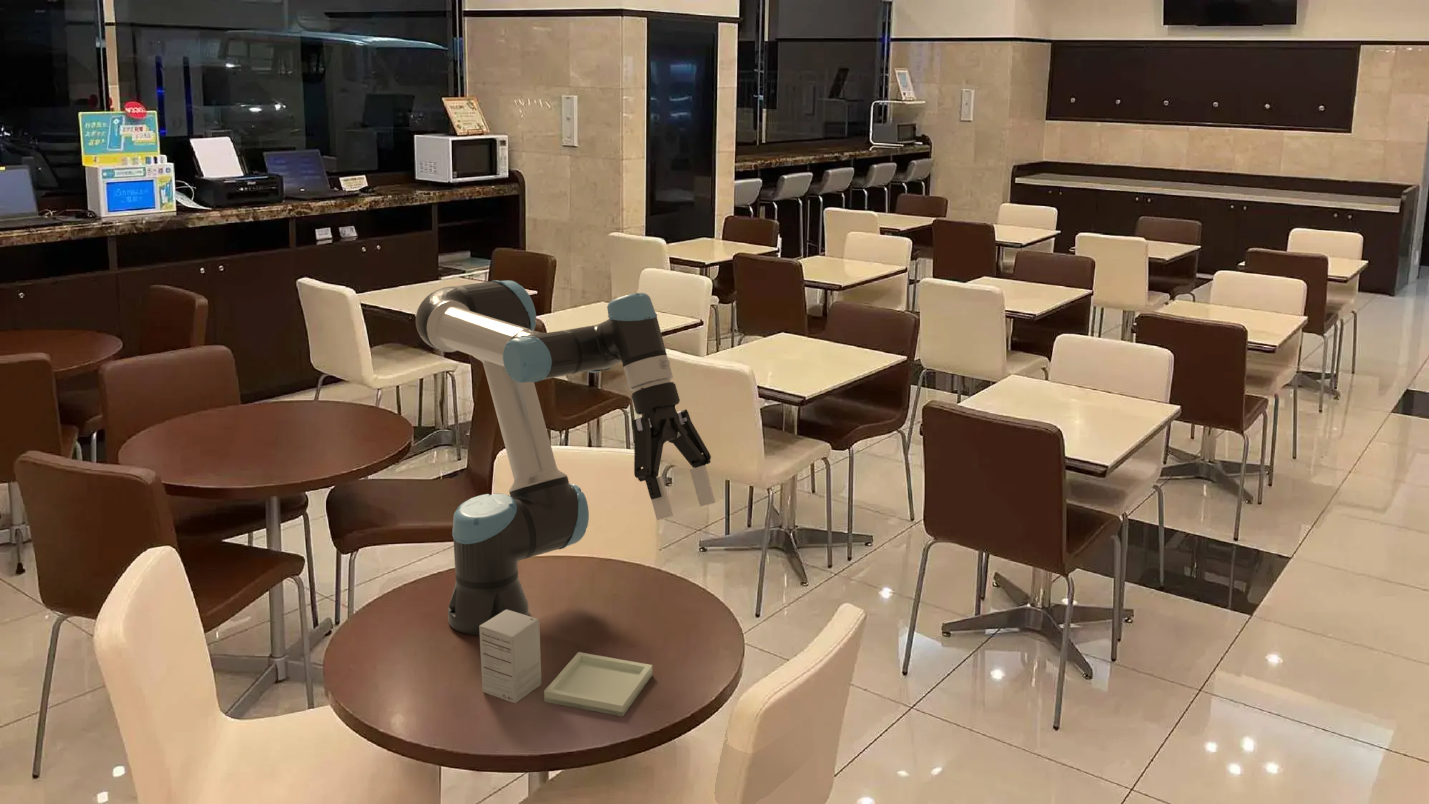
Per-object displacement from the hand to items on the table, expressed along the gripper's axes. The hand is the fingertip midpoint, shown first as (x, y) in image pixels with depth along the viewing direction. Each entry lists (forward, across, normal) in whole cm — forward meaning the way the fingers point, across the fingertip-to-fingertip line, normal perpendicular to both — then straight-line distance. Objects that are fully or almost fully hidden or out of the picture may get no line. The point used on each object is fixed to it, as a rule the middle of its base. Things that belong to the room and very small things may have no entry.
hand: (687, 511), depth 193 cm
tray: (+25, -3, +25) cm, 35 cm away
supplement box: (+21, -10, +37) cm, 44 cm away
